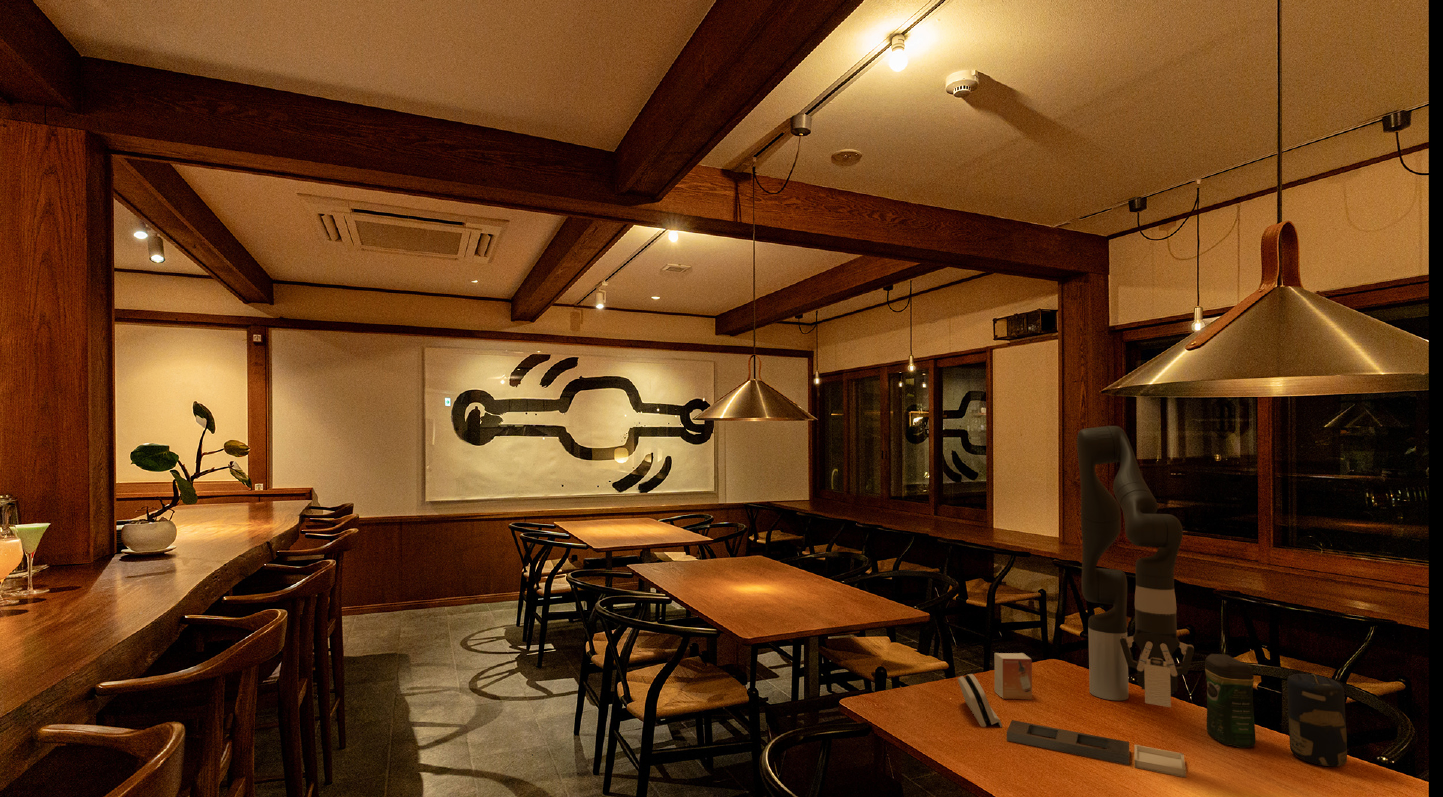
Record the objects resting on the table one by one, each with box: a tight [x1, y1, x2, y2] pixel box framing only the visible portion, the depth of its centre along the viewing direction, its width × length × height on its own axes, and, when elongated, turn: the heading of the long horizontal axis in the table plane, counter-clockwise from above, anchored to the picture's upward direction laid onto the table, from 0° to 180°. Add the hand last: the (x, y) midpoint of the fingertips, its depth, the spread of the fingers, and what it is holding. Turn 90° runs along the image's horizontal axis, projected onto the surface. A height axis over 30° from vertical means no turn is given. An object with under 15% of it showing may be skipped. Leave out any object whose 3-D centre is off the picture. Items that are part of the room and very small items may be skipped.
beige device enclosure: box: [957, 673, 1004, 728], centre depth 179 cm, size 17×5×10 cm, turn 174°
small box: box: [994, 652, 1033, 700], centre depth 192 cm, size 8×6×10 cm
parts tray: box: [1134, 744, 1187, 779], centre depth 152 cm, size 9×9×2 cm
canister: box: [1286, 673, 1348, 767], centre depth 155 cm, size 10×10×18 cm
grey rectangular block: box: [1144, 657, 1172, 708], centre depth 153 cm, size 5×5×9 cm
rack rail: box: [1006, 719, 1130, 766], centre depth 160 cm, size 8×24×2 cm, turn 60°
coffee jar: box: [1204, 653, 1257, 749], centre depth 165 cm, size 10×8×19 cm
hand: (1157, 690), depth 153 cm, fingers closed on grey rectangular block, 4 cm apart
